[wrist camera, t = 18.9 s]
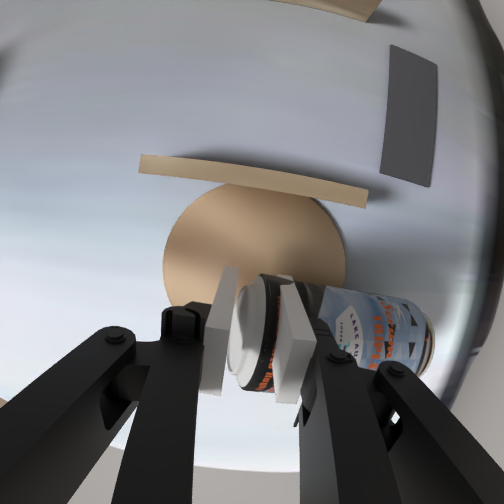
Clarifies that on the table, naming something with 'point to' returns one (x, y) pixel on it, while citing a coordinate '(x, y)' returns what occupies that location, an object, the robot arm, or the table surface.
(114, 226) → the table surface
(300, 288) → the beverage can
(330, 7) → the channel
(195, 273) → the coaster
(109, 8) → the table surface
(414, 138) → the pad
